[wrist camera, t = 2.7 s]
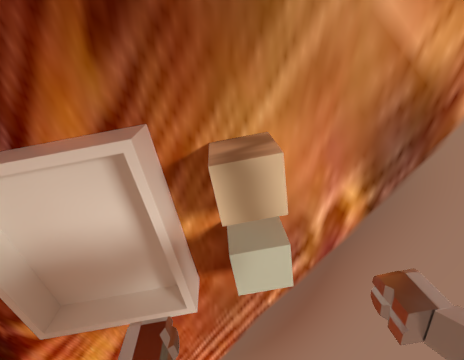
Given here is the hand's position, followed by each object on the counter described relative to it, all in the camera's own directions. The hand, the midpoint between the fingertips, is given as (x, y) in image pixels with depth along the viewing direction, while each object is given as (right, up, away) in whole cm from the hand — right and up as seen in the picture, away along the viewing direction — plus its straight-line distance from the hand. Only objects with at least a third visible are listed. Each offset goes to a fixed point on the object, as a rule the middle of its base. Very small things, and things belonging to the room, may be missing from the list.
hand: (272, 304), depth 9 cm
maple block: (-1, +6, +12) cm, 13 cm away
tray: (-15, 0, +14) cm, 20 cm away
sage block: (+1, -1, +15) cm, 15 cm away
